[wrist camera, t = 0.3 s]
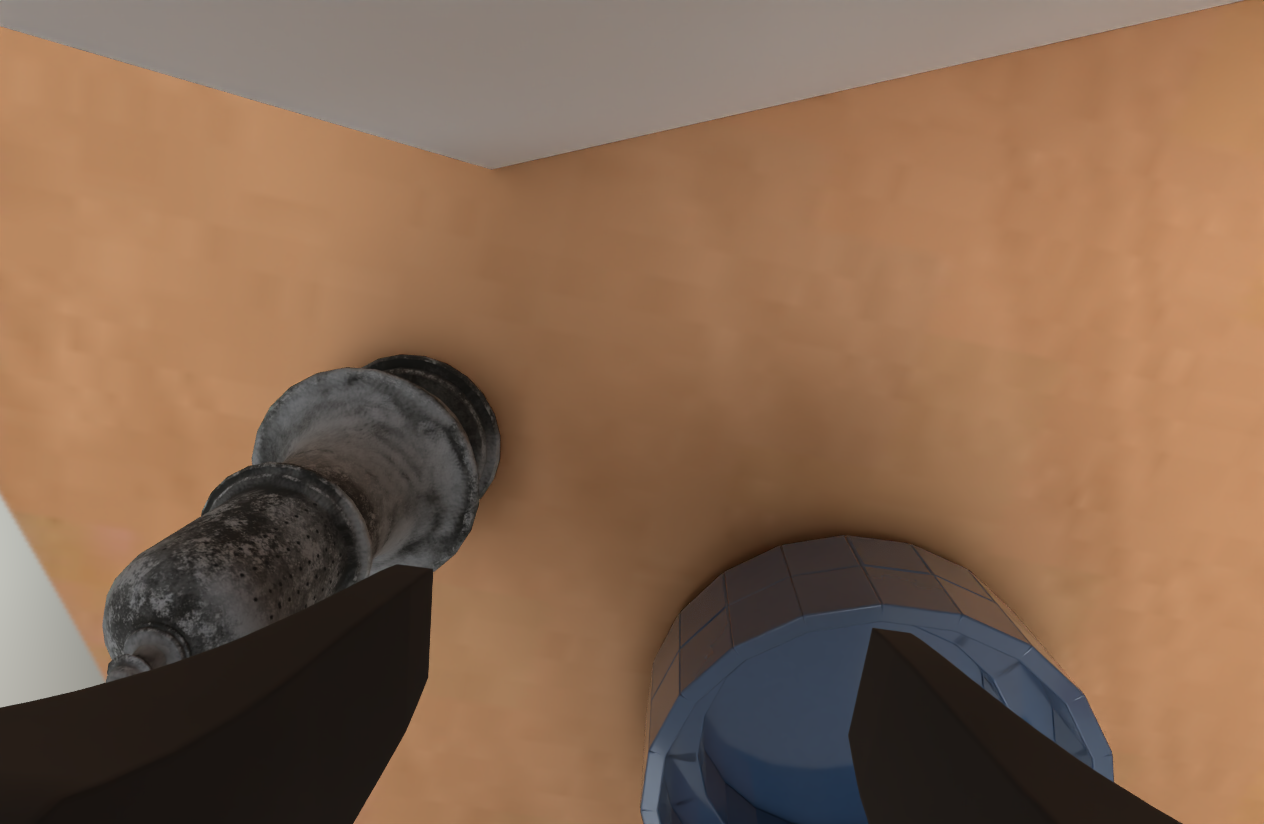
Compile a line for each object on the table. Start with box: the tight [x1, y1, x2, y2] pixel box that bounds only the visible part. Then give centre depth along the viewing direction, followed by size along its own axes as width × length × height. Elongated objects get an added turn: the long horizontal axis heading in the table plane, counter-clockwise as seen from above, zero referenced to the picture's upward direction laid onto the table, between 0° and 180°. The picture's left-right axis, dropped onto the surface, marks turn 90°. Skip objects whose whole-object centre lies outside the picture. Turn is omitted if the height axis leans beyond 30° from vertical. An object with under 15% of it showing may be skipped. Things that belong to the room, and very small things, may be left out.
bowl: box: [640, 535, 1114, 824], centre depth 21 cm, size 12×12×4 cm
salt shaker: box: [103, 354, 500, 683], centre depth 16 cm, size 6×6×12 cm
